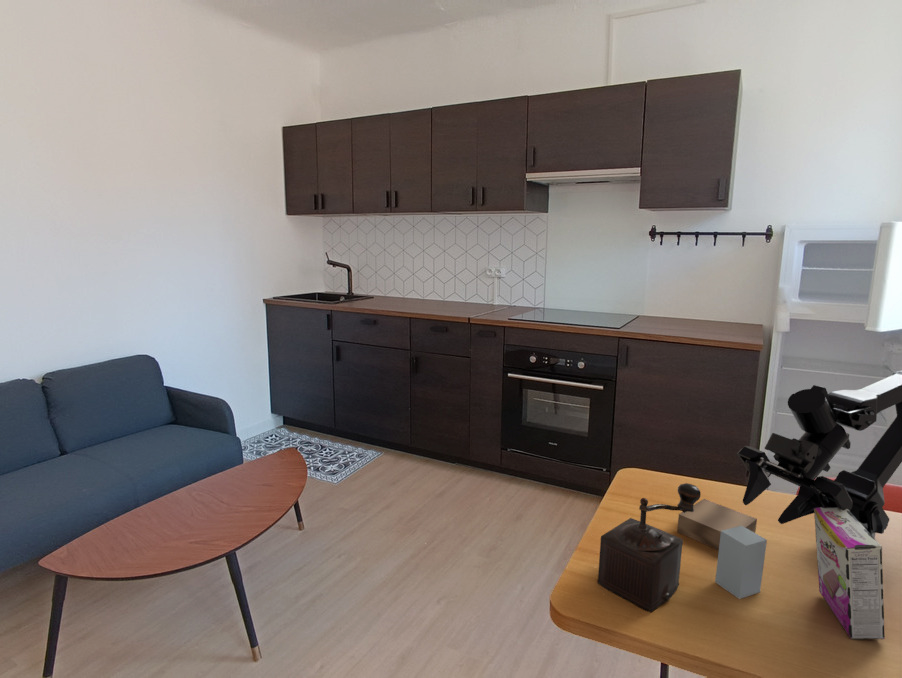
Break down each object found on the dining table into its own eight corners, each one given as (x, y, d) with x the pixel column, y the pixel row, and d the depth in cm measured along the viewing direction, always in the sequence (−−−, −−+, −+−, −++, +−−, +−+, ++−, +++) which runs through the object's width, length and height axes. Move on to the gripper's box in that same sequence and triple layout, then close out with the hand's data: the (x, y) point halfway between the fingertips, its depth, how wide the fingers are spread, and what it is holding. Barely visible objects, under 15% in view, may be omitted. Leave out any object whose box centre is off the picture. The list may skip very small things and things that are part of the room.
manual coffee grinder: (654, 616, 88) (663, 514, 84) (595, 583, 96) (602, 489, 93) (696, 577, 98) (706, 485, 95) (640, 551, 106) (647, 465, 103)
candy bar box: (816, 591, 94) (812, 506, 90) (849, 590, 92) (846, 504, 89) (849, 641, 83) (845, 546, 80) (886, 641, 82) (884, 545, 79)
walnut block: (754, 536, 112) (757, 518, 111) (731, 555, 105) (733, 536, 104) (702, 515, 120) (704, 498, 119) (677, 531, 113) (678, 514, 112)
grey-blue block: (735, 575, 99) (741, 525, 97) (760, 592, 94) (766, 539, 92) (715, 582, 97) (721, 530, 95) (739, 599, 92) (746, 545, 90)
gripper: (752, 404, 103) (699, 463, 100) (855, 438, 86) (795, 510, 83) (774, 441, 107) (724, 499, 105) (876, 480, 90) (820, 550, 87)
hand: (761, 512), depth 95 cm, fingers open, 7 cm apart
